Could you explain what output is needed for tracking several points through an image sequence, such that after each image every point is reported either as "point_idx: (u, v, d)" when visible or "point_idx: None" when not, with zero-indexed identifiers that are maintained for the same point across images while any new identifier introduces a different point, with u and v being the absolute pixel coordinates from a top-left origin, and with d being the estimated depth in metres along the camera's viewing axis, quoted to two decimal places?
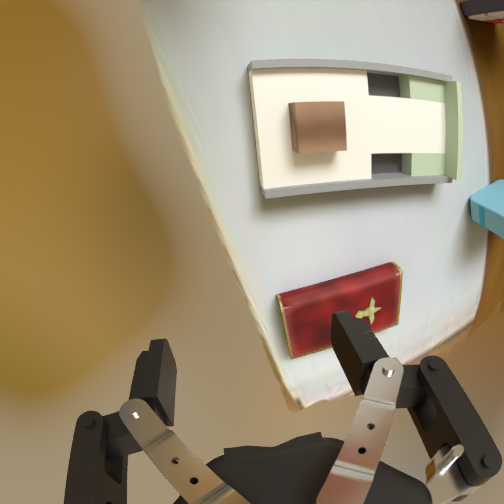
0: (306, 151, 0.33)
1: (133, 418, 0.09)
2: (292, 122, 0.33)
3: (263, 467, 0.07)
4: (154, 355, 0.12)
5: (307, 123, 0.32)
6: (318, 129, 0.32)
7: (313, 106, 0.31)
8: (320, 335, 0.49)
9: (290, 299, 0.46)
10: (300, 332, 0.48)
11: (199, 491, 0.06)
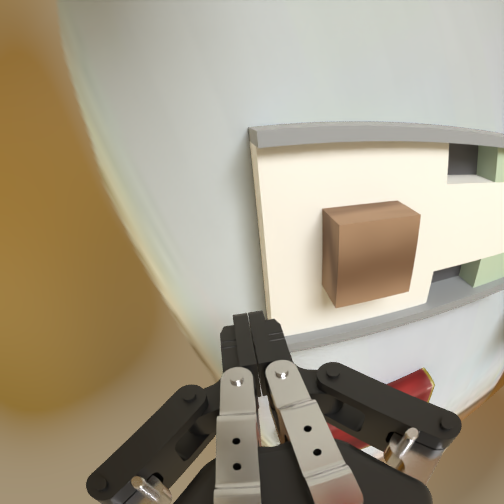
0: (348, 303, 0.20)
1: (238, 386, 0.10)
2: (328, 248, 0.20)
3: (263, 467, 0.07)
4: (241, 328, 0.13)
5: (357, 260, 0.18)
6: (372, 267, 0.19)
7: (371, 229, 0.17)
8: None
9: None
10: None
11: (233, 477, 0.07)
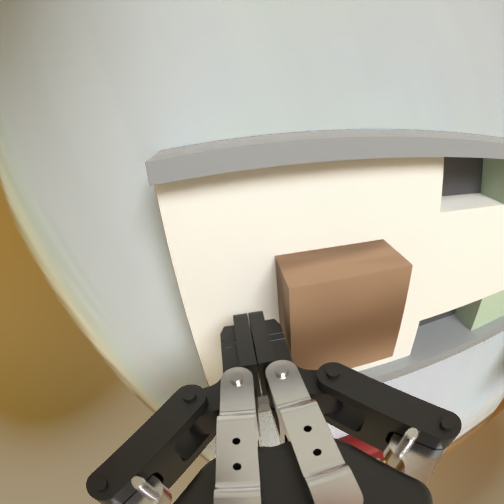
0: None
1: (239, 386, 0.10)
2: (282, 309, 0.15)
3: (263, 467, 0.07)
4: (241, 328, 0.13)
5: (318, 329, 0.14)
6: (341, 335, 0.14)
7: (338, 290, 0.13)
8: None
9: None
10: None
11: (233, 477, 0.07)
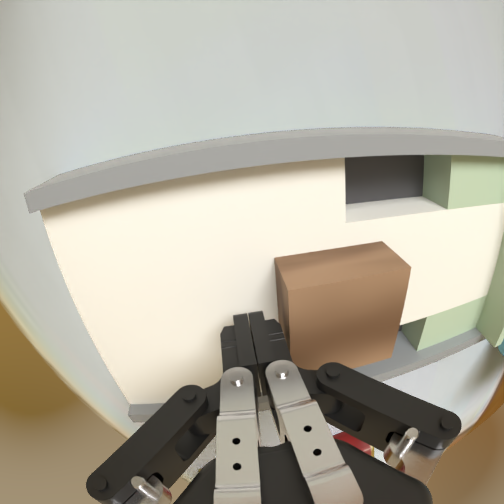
0: None
1: (238, 386, 0.10)
2: (281, 310, 0.15)
3: (263, 467, 0.07)
4: (241, 328, 0.13)
5: (317, 331, 0.14)
6: (339, 337, 0.14)
7: (337, 292, 0.13)
8: None
9: None
10: None
11: (233, 477, 0.07)
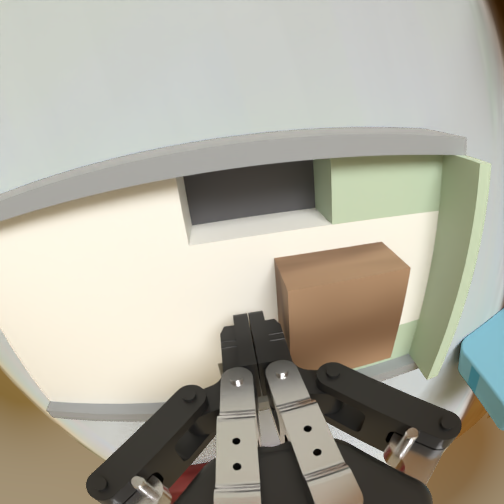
0: None
1: (238, 386, 0.10)
2: (281, 311, 0.15)
3: (263, 467, 0.07)
4: (241, 328, 0.13)
5: (317, 331, 0.14)
6: (339, 337, 0.14)
7: (337, 293, 0.13)
8: None
9: None
10: None
11: (233, 477, 0.07)
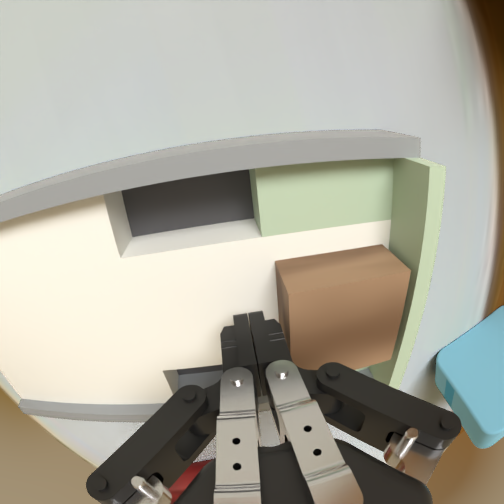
0: None
1: (239, 386, 0.10)
2: (282, 313, 0.15)
3: (263, 467, 0.07)
4: (241, 328, 0.13)
5: (317, 334, 0.14)
6: (339, 339, 0.14)
7: (337, 296, 0.13)
8: None
9: None
10: None
11: (233, 477, 0.07)
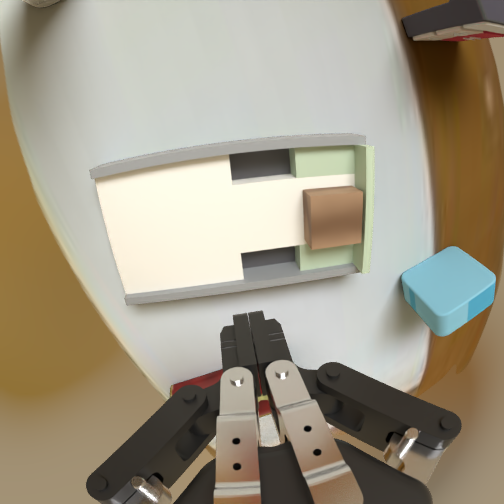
0: (319, 247, 0.33)
1: (238, 386, 0.10)
2: (306, 213, 0.33)
3: (263, 467, 0.07)
4: (241, 328, 0.13)
5: (322, 218, 0.32)
6: (333, 223, 0.32)
7: (330, 199, 0.31)
8: None
9: None
10: None
11: (233, 477, 0.07)
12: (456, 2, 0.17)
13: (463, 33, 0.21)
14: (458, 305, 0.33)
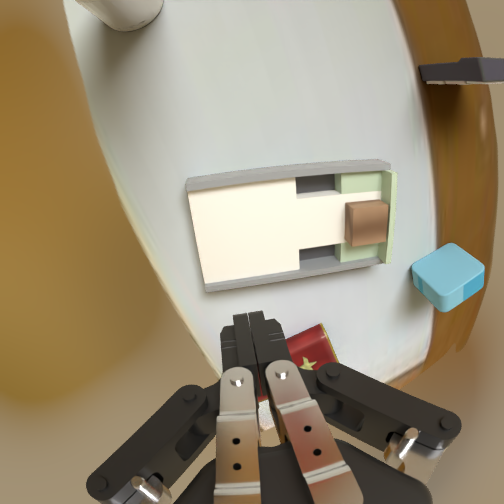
0: (357, 244, 0.44)
1: (238, 386, 0.10)
2: (347, 220, 0.44)
3: (263, 467, 0.07)
4: (241, 328, 0.13)
5: (360, 224, 0.43)
6: (367, 227, 0.43)
7: (366, 210, 0.42)
8: None
9: None
10: None
11: (233, 477, 0.07)
12: (464, 63, 0.28)
13: (466, 84, 0.32)
14: (456, 287, 0.44)
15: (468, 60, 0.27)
